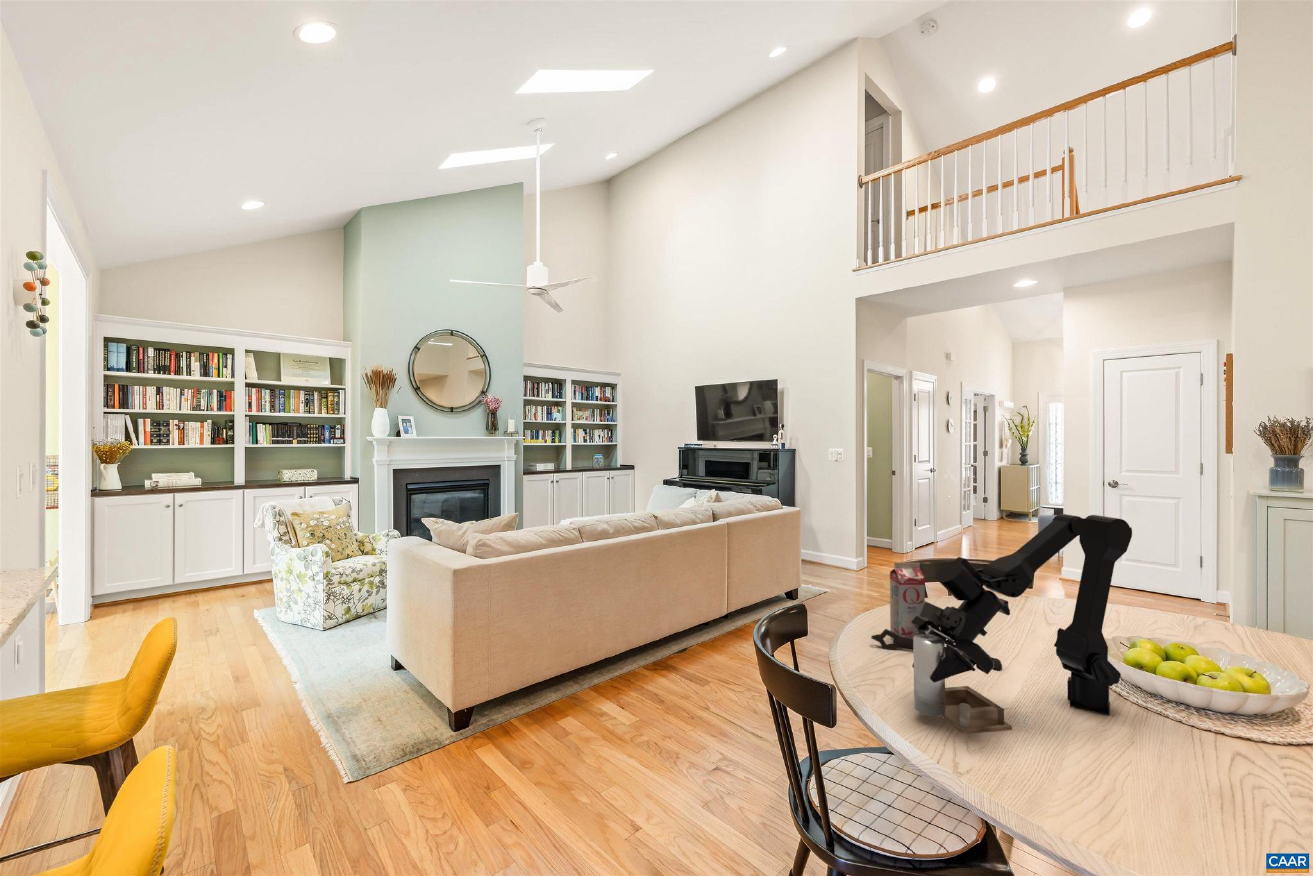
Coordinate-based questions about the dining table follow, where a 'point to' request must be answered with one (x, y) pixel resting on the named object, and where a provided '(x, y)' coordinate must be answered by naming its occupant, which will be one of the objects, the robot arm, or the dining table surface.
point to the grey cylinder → (928, 675)
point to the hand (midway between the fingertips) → (922, 674)
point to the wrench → (910, 644)
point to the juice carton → (906, 598)
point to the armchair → (973, 711)
